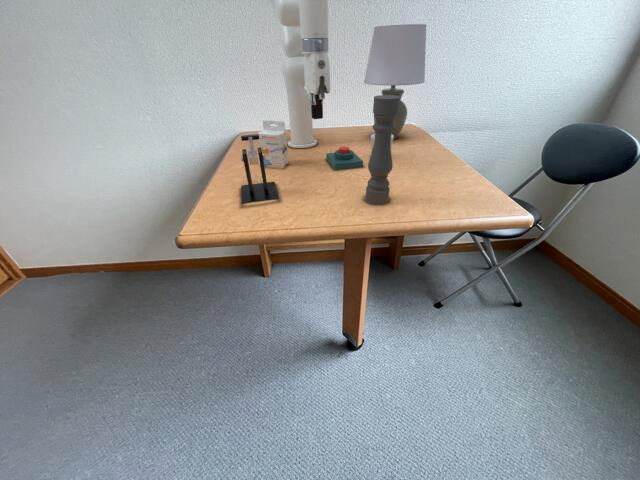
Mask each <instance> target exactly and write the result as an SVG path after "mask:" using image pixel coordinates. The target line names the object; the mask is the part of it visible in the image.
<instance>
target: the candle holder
mask: <svg viewBox="0 0 640 480" xmlns="http://www.w3.org/2000/svg"><path fill="white" fill-rule="evenodd" d="M399 103H400V96H395V95H382V94H381V95H375V96H374V97H373V107H372V113H373V119H374V118H375V121H376V123H375V124H374V123H373V125H372V130H373V131H374V134H375V141H374V147H373V150H372V153H370V156H369V160H368V163H367V169H368V172H369V174H370V178H369V180H367V186H365V201H366V202H367V203H369V204H371V205H378V206H379V205H384V204H386V203H388V202H389V199H390V190H391V188H390V181H389V179H388V177H389V174H390V173H391V172H392V170H393V166H394V165H393V158H392V157H393V156H392V147H391V146H390V144H391V135H392V132H393V130H394V129H395V125H394V124H393V121H394V120H395V118H396V117H397V113H398V111H399Z"/></svg>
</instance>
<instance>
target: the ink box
mask: <svg viewBox="0 0 640 480" xmlns="http://www.w3.org/2000/svg"><path fill="white" fill-rule="evenodd" d="M273 124H274V125H276V126H274V125H273ZM262 127H263V129H262V130H261V131H259V132H257V134H259V139H258V145H259V147H258V148H261V149H262V154H264V156H265V159H263V161H264V166H274V167H285V166H286V165H287V164H288V163H289V154H288V153H289V152H288V141H287V131H286V126H285V121H283V120H262Z"/></svg>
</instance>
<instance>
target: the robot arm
mask: <svg viewBox="0 0 640 480" xmlns="http://www.w3.org/2000/svg"><path fill="white" fill-rule="evenodd" d="M269 3H270V6H271V8H272V11H273V13H274V14H275V17H276V19H277V21H278V30H279V34H280V41H281V46H282V47H281V48H282V50H283V53H284V55H285V56H286V57H287V59H286V60H284V62H283V63H282V69H281V70H282V77H283V81H284V86H285V90H286V96H287V107H288V109H287V110H288V119H289V131H290V132H289V133H290V140H289V141H287V147H290V148H293V149H309V148H313V147H315V146H317V144H318V140H317V139H315V138H314V128H313V127H314V125H313V120H320V119H324V110H323V109H324V100H325V98H326V96H325V95H326V94H330V93H331V72H330V71H331V70H330V69H331V68H330V59H329V52H330V51H329V0H269Z"/></svg>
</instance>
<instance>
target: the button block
mask: <svg viewBox="0 0 640 480" xmlns="http://www.w3.org/2000/svg"><path fill="white" fill-rule="evenodd" d="M325 159H326V161H327V162H328V164H329V165H330V166H331V167H332V168H333V170H334V171H340V170H341V171H343V170H349V169H350V170H352V169H358V168H363V167H364V160H363V159H362V158H360V156H358V155H357V154H356V153H355V152H354V151H353V150H352V149H349V153H348V154H340V153H339V149H337V150H335V151H334V152H326V153H325Z"/></svg>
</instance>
